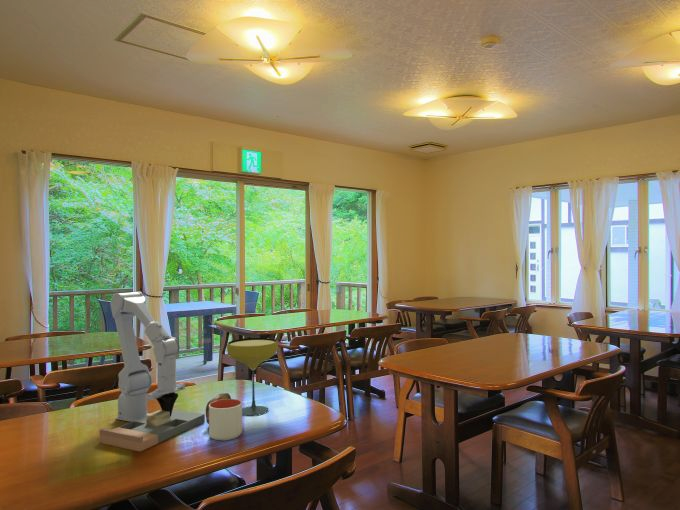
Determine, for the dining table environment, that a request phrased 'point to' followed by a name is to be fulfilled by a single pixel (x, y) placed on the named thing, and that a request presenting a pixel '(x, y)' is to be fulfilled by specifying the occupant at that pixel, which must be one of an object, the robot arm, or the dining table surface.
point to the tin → (218, 397)
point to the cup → (225, 419)
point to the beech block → (157, 418)
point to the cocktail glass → (252, 361)
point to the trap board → (150, 431)
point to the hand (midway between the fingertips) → (167, 416)
